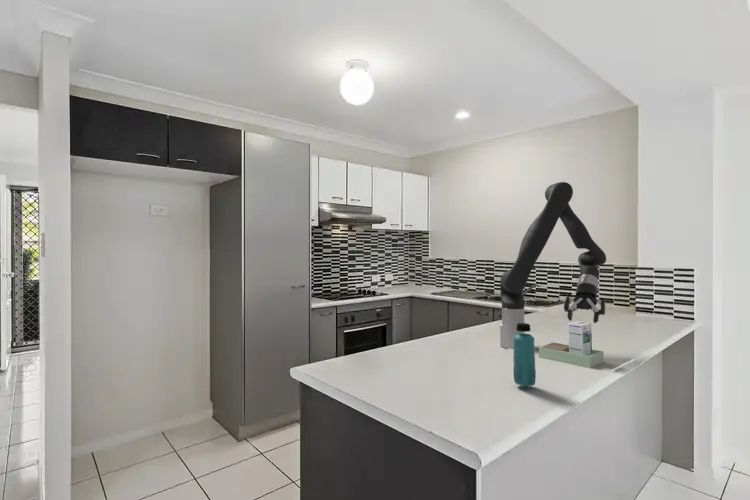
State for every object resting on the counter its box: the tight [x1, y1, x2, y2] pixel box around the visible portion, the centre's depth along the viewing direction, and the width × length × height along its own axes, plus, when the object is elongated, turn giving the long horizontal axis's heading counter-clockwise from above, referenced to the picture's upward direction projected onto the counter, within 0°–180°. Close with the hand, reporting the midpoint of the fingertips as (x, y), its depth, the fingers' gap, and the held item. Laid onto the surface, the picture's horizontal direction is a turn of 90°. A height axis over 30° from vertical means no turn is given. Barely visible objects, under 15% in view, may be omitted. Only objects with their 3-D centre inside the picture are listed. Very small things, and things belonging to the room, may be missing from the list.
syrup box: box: [567, 321, 593, 356], centre depth 153 cm, size 6×6×14 cm
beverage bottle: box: [512, 322, 537, 387], centre depth 128 cm, size 6×7×20 cm
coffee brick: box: [544, 343, 569, 352], centre depth 160 cm, size 7×8×4 cm
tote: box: [538, 342, 604, 369], centre depth 156 cm, size 19×11×5 cm, turn 39°
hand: (582, 320), depth 157 cm, fingers open, 8 cm apart
